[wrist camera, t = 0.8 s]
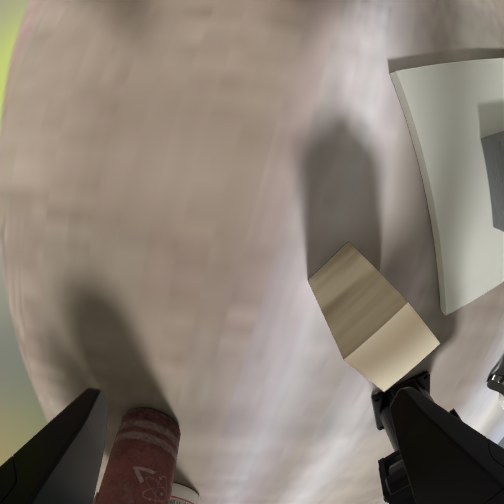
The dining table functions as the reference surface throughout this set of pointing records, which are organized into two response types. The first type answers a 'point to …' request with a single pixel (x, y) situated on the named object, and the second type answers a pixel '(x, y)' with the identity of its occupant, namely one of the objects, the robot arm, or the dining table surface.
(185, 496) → the fruit juice
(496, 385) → the coffee press
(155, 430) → the can
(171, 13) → the dining table surface
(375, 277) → the square peg
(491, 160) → the square socket
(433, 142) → the socket board
